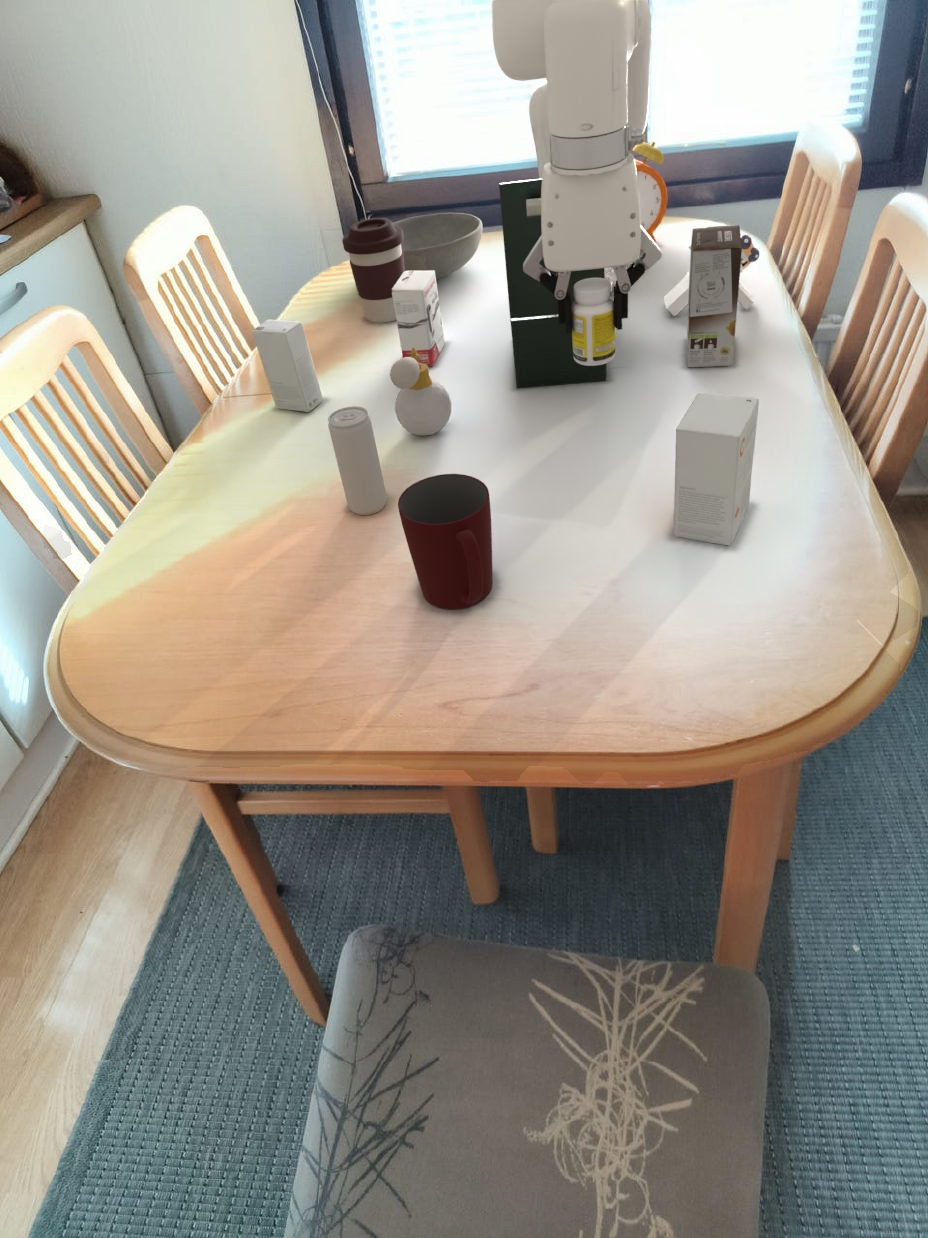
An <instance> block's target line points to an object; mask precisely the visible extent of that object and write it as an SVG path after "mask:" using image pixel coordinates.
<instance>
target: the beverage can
mask: <svg viewBox="0 0 928 1238" xmlns="http://www.w3.org/2000/svg"><path fill="white" fill-rule="evenodd" d="M327 422H328V423H327V426H328V431H329V435H330V440H331V443H332V447H333V451H334V455H335V460H336V463H337V467H338V472H339V476H340V479H341V483H342V484H341V485H342V487H343V488H342V489H343V491H344V496H345V500H346V505H347V508H348V509H349V510H350V511H351V512H352V513H354V514H355V515H358V516H370V515H374V514H377V513H378V512H380V511H381V510H383V509H384V507H385V506H386V504H387V502H388V495H387V490H386V486H385V481H384V477H383V472H382V471H383V470H382V466H381V462H380V457H379V453H378V447H377V442H376V438H375V433H374V429H373V425H372V420H371V416H370V414H369V412H368V410H367V409H366V408H364V407H361V406H357V405H356V406H345V407H342V408H338V409H337V410H335V411H333V412H331V413H330V414H329V416H328V417H327Z"/></svg>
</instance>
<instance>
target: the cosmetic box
mask: <svg viewBox="0 0 928 1238" xmlns="http://www.w3.org/2000/svg"><path fill="white" fill-rule="evenodd" d="M251 334H252V337H253V340H254V343H255V346H256V349H257V352H258V355H259V358H260V361H261V364H262V368H263V370H264V374H265V377H266V380H267V383H268V385H269V390H270V392H271V395H272V399H273V402H274V405H275V408H276V409H280V410H287V411H297V412H303V413H309V412H311V411H313V410H314V409H315V408H316V407H318V406H319V404H321V403H322V402H323V400H324V397H323V393H322V390H321V387H320V381H319V379H318V375H317V372H316V368H315V364H314V361H313V357H312V354H311V350H310V347H309V343H308V339H307V337H306V333H305V329H304V325H303V322H302V321H295V320H282V319H269V318H268V319H266V320H265V321H263V322H262V323H260V324H259V325H258V326H256V328H254V329H253V330H252V331H251Z"/></svg>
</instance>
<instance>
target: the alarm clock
mask: <svg viewBox="0 0 928 1238" xmlns="http://www.w3.org/2000/svg"><path fill="white" fill-rule="evenodd" d="M645 137H646V136H645V133H643V143H642V144H640V145H635V147H632V148H631V150H632V151H633V152H635V153H637V154H638V155H641V156H643V157H644V160H643V162H642V161H641V160H639V159H636V158H634V159H635V164H636V170H637V180H638V189H639V201H640V220H641V226H642V227H643V229H644V230H645V231H646V232H647V233H648V235H649V236H650V237H651V238H652V240H653V241H654V242H655V243H656V244H657V246H658V247H659V245H658V243H657V241H656V238H655V236H654V232H655V231H656V230H657V229H658V227H659V226H660V225H661V224H662V222H663V219H664V216H665V214H666V213H667V206H668V198H669V197H668V189H667V185H666V183H665V181H664V178H663V177H662V175H661V174H660V173H659V172H658V171H657V170H656V169H655V168H653V167H651V165H648V164H647V162H648V160H651V161H653V162H655V163H657V164H660V165H663V163H664V153H663V152H662V150H660V149H659V148H657V147H655V145H656V142H655V141H652V142H651V143H650V142H648V141H646V138H645ZM628 154H631V155H633V153H632V152H628Z"/></svg>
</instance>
